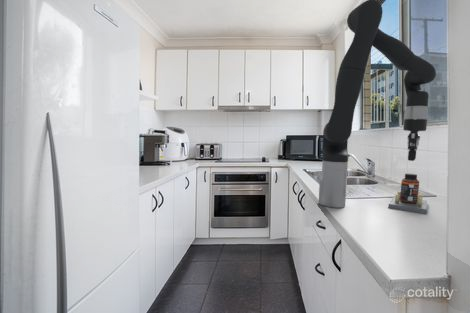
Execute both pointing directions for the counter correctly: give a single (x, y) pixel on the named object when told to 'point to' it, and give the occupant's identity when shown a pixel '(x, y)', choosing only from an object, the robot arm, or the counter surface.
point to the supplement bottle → (409, 189)
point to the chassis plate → (409, 204)
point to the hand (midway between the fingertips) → (411, 159)
